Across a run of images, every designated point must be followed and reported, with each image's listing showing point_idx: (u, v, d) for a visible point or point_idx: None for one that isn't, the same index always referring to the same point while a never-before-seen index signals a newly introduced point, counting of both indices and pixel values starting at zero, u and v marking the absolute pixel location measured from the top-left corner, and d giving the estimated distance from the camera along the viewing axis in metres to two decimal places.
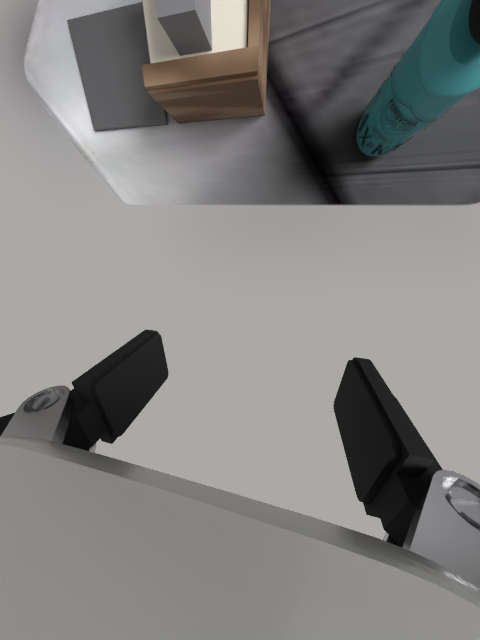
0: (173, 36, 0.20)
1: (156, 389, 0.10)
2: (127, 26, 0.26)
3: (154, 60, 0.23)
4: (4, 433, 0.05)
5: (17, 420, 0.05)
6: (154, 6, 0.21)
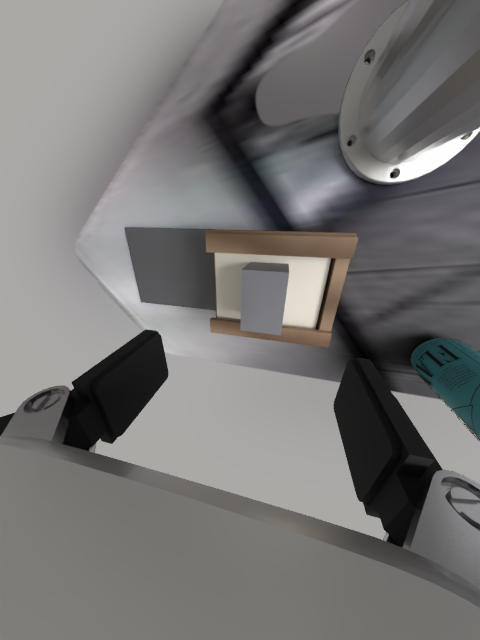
0: None
1: (156, 389, 0.10)
2: (185, 242, 0.27)
3: (221, 310, 0.23)
4: (4, 433, 0.05)
5: (17, 420, 0.05)
6: (227, 279, 0.21)
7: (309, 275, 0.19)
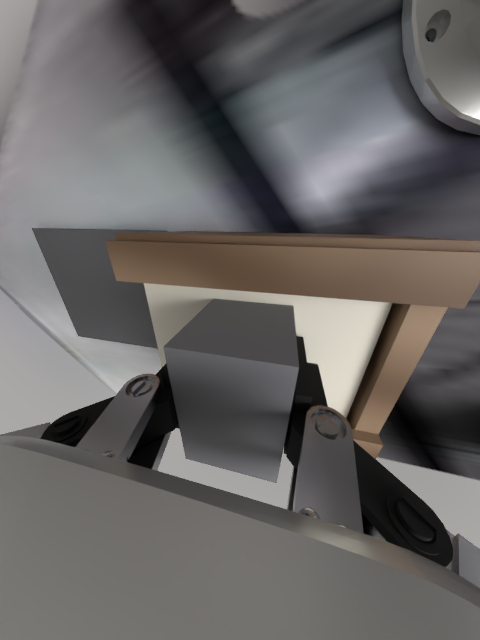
0: None
1: None
2: None
3: None
4: (107, 408, 0.06)
5: (118, 398, 0.06)
6: (174, 328, 0.11)
7: (339, 330, 0.09)
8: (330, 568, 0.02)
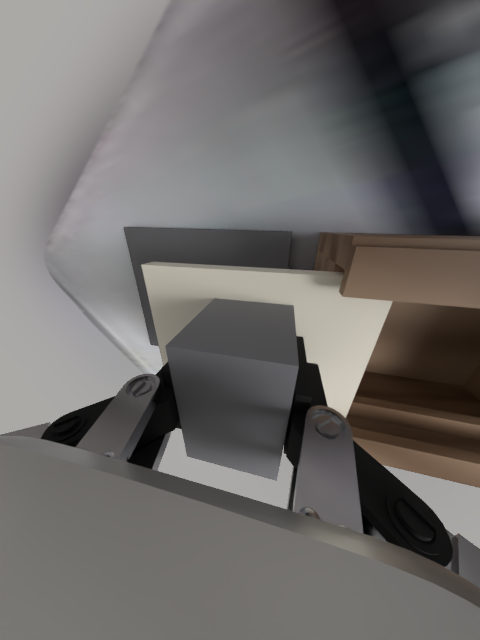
0: None
1: None
2: (235, 254, 0.15)
3: None
4: (107, 408, 0.06)
5: (118, 398, 0.06)
6: (175, 327, 0.11)
7: (339, 329, 0.09)
8: (330, 568, 0.02)
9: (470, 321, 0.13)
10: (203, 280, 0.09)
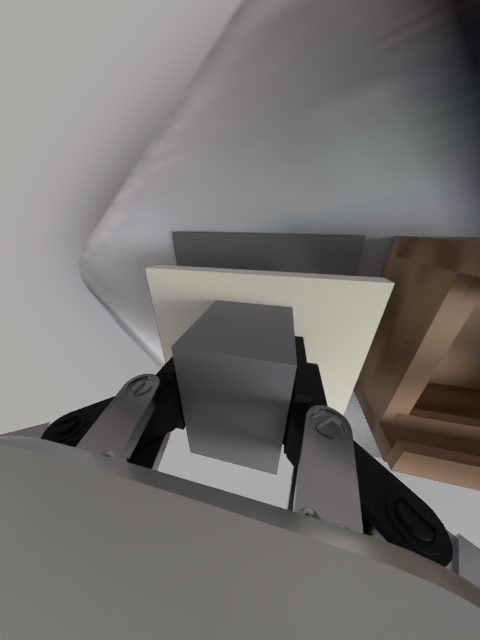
0: None
1: None
2: (296, 260, 0.14)
3: None
4: (107, 408, 0.06)
5: (118, 398, 0.06)
6: (178, 328, 0.11)
7: (336, 330, 0.09)
8: (330, 568, 0.02)
9: None
10: (205, 282, 0.10)
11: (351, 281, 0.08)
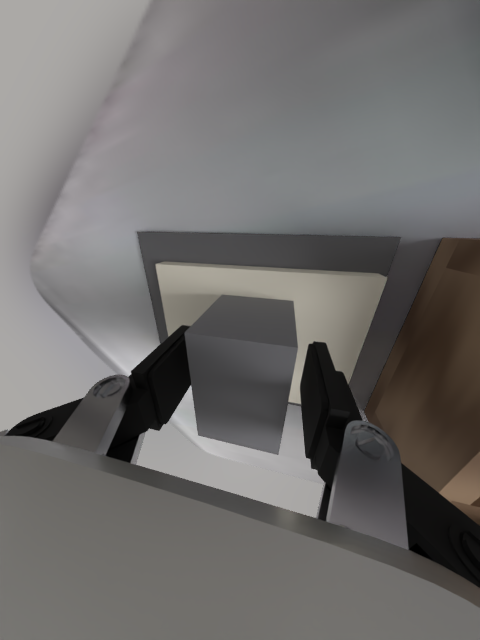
0: None
1: None
2: None
3: None
4: (74, 412, 0.05)
5: (86, 402, 0.06)
6: (185, 321, 0.12)
7: (334, 322, 0.10)
8: (330, 568, 0.02)
9: None
10: (211, 278, 0.10)
11: (348, 276, 0.09)
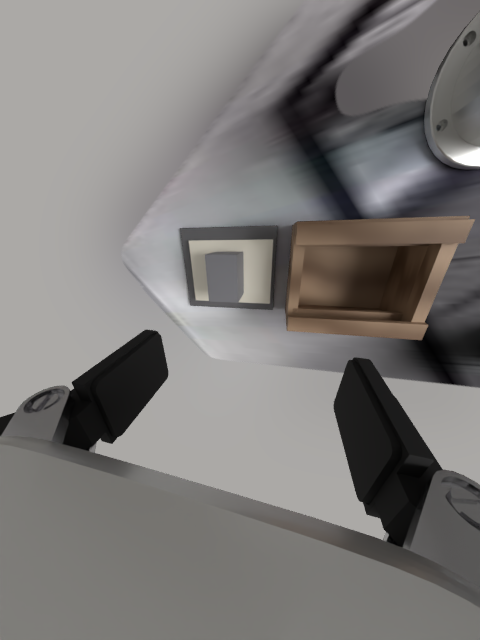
0: None
1: (156, 389, 0.10)
2: None
3: (198, 291, 0.30)
4: (4, 433, 0.05)
5: (17, 420, 0.05)
6: (200, 266, 0.28)
7: (259, 259, 0.26)
8: (330, 568, 0.02)
9: (373, 267, 0.24)
10: (211, 244, 0.26)
11: (260, 240, 0.25)
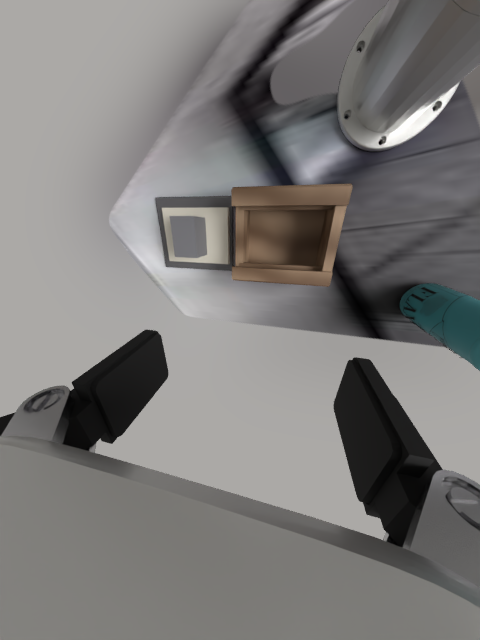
0: None
1: (156, 389, 0.10)
2: None
3: (171, 253, 0.36)
4: (3, 433, 0.05)
5: (17, 420, 0.05)
6: (172, 230, 0.34)
7: (218, 224, 0.32)
8: (330, 568, 0.02)
9: (307, 233, 0.30)
10: (180, 211, 0.32)
11: (217, 207, 0.31)
